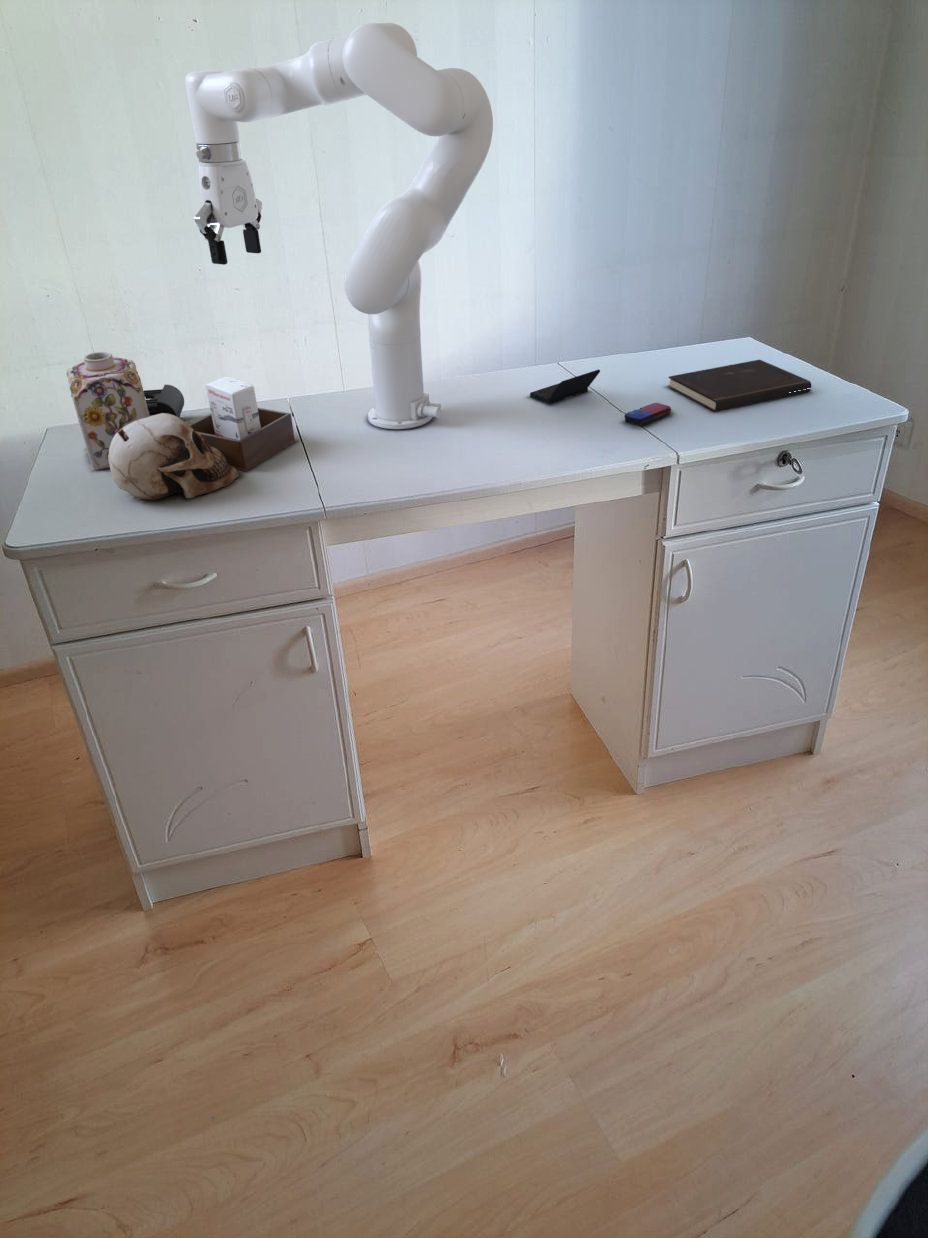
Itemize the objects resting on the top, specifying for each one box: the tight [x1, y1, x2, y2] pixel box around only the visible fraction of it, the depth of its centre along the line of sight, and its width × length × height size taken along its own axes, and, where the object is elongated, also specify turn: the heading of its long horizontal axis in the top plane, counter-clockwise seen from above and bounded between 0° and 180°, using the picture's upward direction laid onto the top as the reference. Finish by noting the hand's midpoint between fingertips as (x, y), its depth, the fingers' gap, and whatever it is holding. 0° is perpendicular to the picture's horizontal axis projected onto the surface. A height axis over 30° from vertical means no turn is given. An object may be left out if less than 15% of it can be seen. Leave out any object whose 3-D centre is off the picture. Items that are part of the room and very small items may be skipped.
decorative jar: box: [66, 351, 150, 471], centre depth 153 cm, size 12×12×18 cm
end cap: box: [143, 384, 185, 418], centre depth 166 cm, size 10×7×7 cm
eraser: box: [624, 402, 672, 427], centre depth 164 cm, size 11×4×2 cm, turn 132°
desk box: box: [189, 407, 296, 472], centre depth 156 cm, size 14×14×6 cm
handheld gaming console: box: [529, 369, 601, 406], centre depth 174 cm, size 12×7×10 cm
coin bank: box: [108, 413, 240, 501], centre depth 142 cm, size 16×17×13 cm
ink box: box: [205, 376, 261, 440], centre depth 154 cm, size 9×5×12 cm, turn 47°
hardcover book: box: [667, 359, 812, 412], centre depth 175 cm, size 16×23×2 cm
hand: (237, 257), depth 161 cm, fingers open, 9 cm apart
